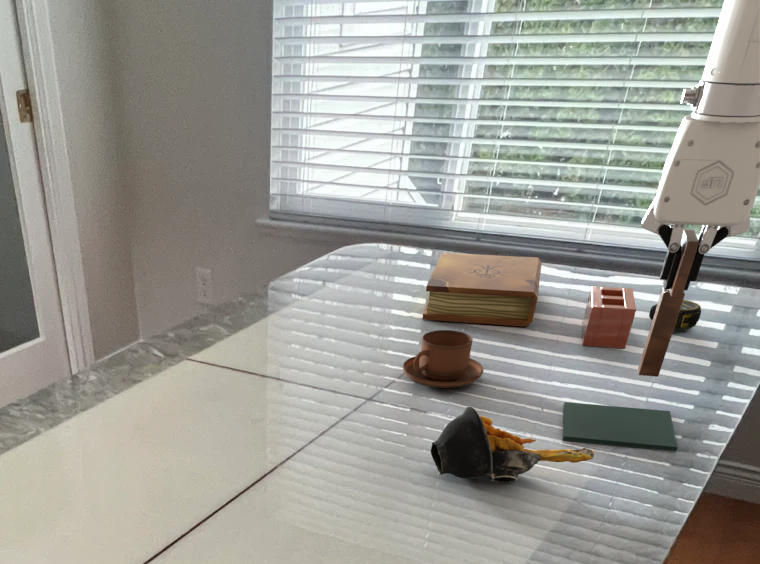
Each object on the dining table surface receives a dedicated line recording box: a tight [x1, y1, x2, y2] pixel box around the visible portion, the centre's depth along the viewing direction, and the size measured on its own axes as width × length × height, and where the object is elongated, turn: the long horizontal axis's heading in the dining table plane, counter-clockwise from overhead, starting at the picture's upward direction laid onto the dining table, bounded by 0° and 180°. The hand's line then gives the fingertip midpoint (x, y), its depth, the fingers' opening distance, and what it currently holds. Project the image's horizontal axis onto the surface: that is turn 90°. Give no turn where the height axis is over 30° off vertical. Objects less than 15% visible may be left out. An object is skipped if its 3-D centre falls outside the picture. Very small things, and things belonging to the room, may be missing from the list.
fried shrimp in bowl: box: [430, 405, 595, 483], centre depth 102 cm, size 9×11×18 cm
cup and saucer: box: [402, 329, 484, 389], centre depth 127 cm, size 12×12×6 cm
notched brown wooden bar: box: [637, 229, 699, 377], centre depth 105 cm, size 2×6×16 cm, turn 163°
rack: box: [581, 285, 637, 350], centre depth 140 cm, size 7×12×6 cm, turn 163°
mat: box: [562, 401, 678, 452], centre depth 115 cm, size 14×12×1 cm
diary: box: [422, 252, 542, 328], centre depth 154 cm, size 23×19×6 cm
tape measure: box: [648, 299, 702, 332], centre depth 142 cm, size 7×7×4 cm
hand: (675, 285), depth 103 cm, fingers closed on notched brown wooden bar, 1 cm apart
